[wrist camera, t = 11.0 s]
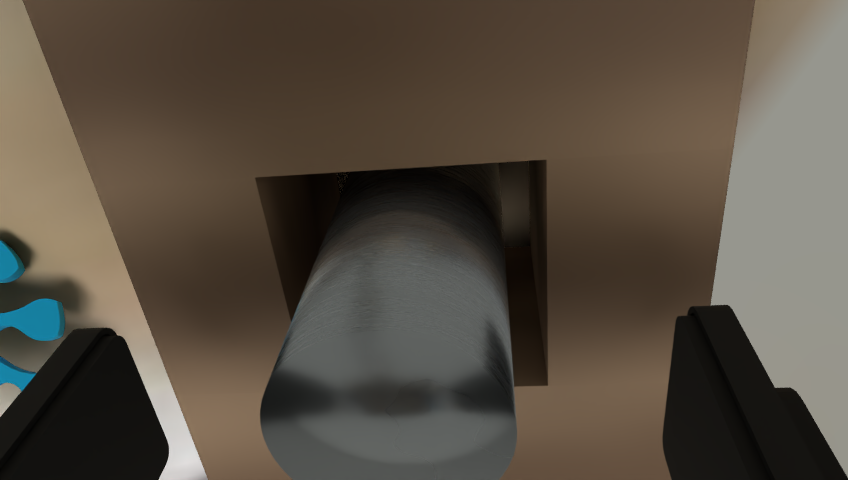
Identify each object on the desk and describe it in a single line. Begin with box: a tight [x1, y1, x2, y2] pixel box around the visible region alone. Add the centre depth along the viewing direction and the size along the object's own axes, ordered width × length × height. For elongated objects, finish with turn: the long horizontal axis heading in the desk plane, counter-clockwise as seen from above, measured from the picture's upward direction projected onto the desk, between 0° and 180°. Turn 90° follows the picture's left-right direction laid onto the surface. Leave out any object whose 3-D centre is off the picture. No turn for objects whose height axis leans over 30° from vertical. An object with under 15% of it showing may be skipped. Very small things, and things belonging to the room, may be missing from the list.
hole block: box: [23, 0, 755, 480], centre depth 16 cm, size 18×12×6 cm, turn 6°
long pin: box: [260, 163, 517, 480], centre depth 15 cm, size 4×4×10 cm
